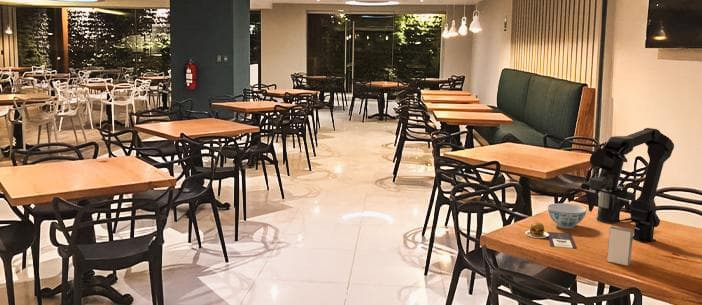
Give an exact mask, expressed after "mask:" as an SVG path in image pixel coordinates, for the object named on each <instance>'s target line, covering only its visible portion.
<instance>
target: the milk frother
mask: <svg viewBox="0 0 702 305" xmlns="http://www.w3.org/2000/svg"><path fill="white" fill-rule="evenodd" d="M617 188H619V190H623V186H620V185H618V186H617ZM604 190H606V189H603V191H604ZM609 191H611V192H612V190H609ZM607 192H608V191H607ZM598 194H599V195H598V205H597V206H598V207H597V214H596V221H597V222H602V223H606V224H607V223H608V224H618V223H620V222H627V221H631V217H629V218H623V219H622V218H621V219H620V215H621V210H620V211H619V212H618V213H617V214H616V216H615V217H614V218H612V217H611V214H612V210H613V206H614V198H618V197H616V195H612V194H608V193H603V192H599V191H598ZM632 223H633V224H634V223H635V222H632Z"/></svg>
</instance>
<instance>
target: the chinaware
mask: <svg viewBox="0 0 702 305" xmlns="http://www.w3.org/2000/svg"><path fill="white" fill-rule="evenodd" d="M547 212H548V214H549V217H550V219H551V221H553V223H555V224H556V226H557V227H558V228H561V229H565V230H566V229H570V230H571V229H574V228H575V226H577V225H578V224H580V223H581V222H582V221H583V219H584V218H585V216H586V214H587V208H585V207H584V206H582V205H579V204H572V203H562V202H560V203H558V202H557V203H550V204H548V205H547Z"/></svg>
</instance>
